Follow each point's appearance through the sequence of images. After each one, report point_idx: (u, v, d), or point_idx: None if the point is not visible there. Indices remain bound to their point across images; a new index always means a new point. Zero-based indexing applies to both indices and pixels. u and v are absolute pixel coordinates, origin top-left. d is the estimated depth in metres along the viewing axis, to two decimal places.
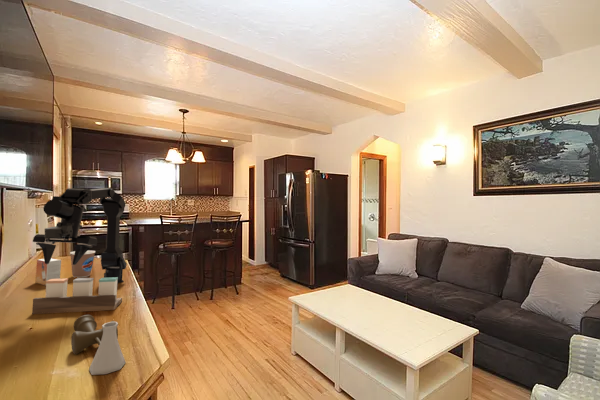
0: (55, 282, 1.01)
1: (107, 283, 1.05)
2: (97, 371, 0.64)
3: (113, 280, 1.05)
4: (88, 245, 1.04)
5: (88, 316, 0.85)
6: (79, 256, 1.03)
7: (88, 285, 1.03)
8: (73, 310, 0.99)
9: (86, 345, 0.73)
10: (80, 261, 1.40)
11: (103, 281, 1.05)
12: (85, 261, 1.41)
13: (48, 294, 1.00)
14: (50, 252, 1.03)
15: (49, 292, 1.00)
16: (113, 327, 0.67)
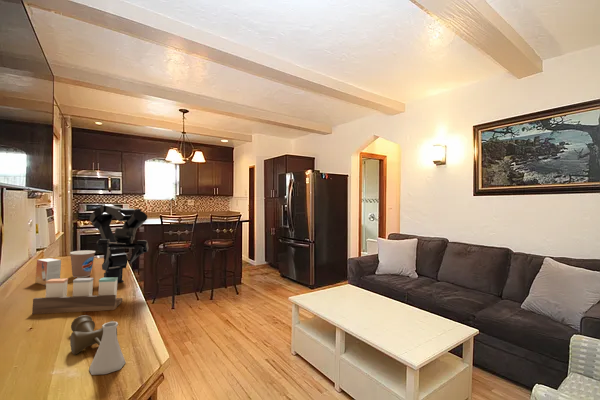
0: (55, 282, 1.01)
1: (107, 283, 1.05)
2: (97, 371, 0.64)
3: (113, 280, 1.05)
4: (143, 249, 1.24)
5: (86, 316, 0.85)
6: (134, 257, 1.21)
7: (88, 285, 1.03)
8: (73, 310, 0.99)
9: (85, 345, 0.73)
10: (80, 261, 1.40)
11: (103, 281, 1.05)
12: (85, 261, 1.41)
13: (48, 294, 1.00)
14: (108, 255, 1.19)
15: (49, 292, 1.00)
16: (113, 327, 0.67)
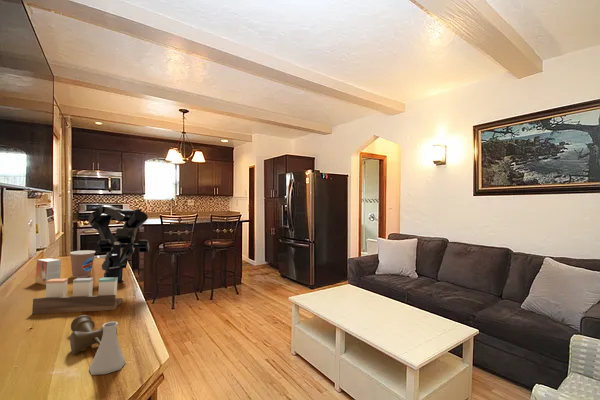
0: (55, 282, 1.01)
1: (107, 283, 1.05)
2: (97, 371, 0.64)
3: (113, 280, 1.05)
4: (133, 248, 1.23)
5: (85, 316, 0.85)
6: (124, 257, 1.20)
7: (88, 285, 1.03)
8: (73, 310, 0.99)
9: (85, 345, 0.73)
10: (80, 261, 1.40)
11: (103, 281, 1.05)
12: (85, 261, 1.41)
13: (48, 294, 1.00)
14: None
15: (49, 292, 1.00)
16: (113, 327, 0.67)
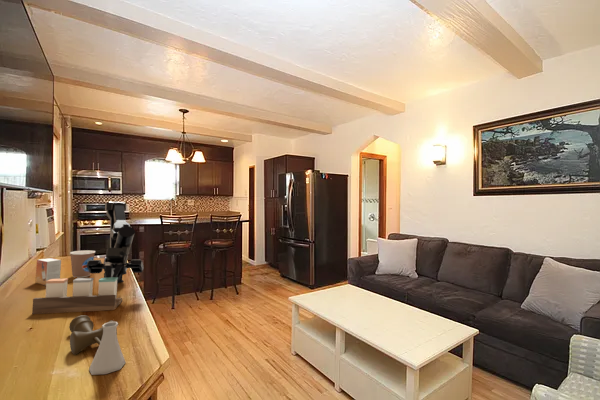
0: (55, 282, 1.01)
1: (107, 283, 1.05)
2: (97, 371, 0.64)
3: (113, 280, 1.05)
4: (125, 269, 1.14)
5: (84, 316, 0.85)
6: None
7: (88, 285, 1.03)
8: (73, 310, 0.99)
9: (85, 345, 0.73)
10: (80, 261, 1.40)
11: (103, 281, 1.04)
12: (85, 261, 1.41)
13: (48, 294, 1.00)
14: None
15: (49, 292, 1.00)
16: (113, 327, 0.67)
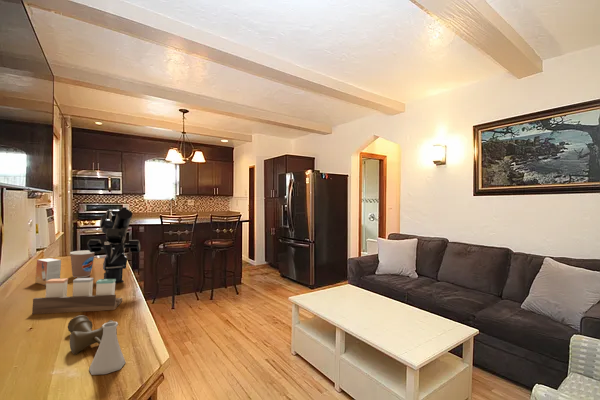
0: (55, 282, 1.01)
1: (105, 285, 1.03)
2: (97, 371, 0.64)
3: (111, 282, 1.03)
4: (123, 249, 1.23)
5: (83, 316, 0.85)
6: (115, 257, 1.19)
7: (88, 285, 1.03)
8: (73, 310, 0.99)
9: (85, 345, 0.74)
10: (80, 261, 1.40)
11: (101, 283, 1.02)
12: (85, 261, 1.41)
13: (48, 294, 1.00)
14: (111, 255, 1.20)
15: (49, 292, 1.00)
16: (113, 327, 0.67)
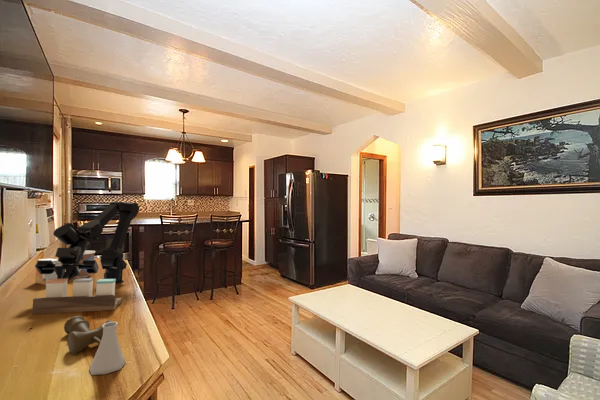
0: (55, 282, 1.00)
1: (105, 285, 1.03)
2: (97, 371, 0.64)
3: (111, 282, 1.03)
4: (77, 270, 1.09)
5: (79, 317, 0.84)
6: None
7: (88, 285, 1.03)
8: (73, 310, 0.99)
9: (84, 345, 0.74)
10: (80, 261, 1.40)
11: (101, 283, 1.02)
12: None
13: (48, 294, 1.00)
14: None
15: (49, 292, 1.00)
16: (113, 327, 0.67)
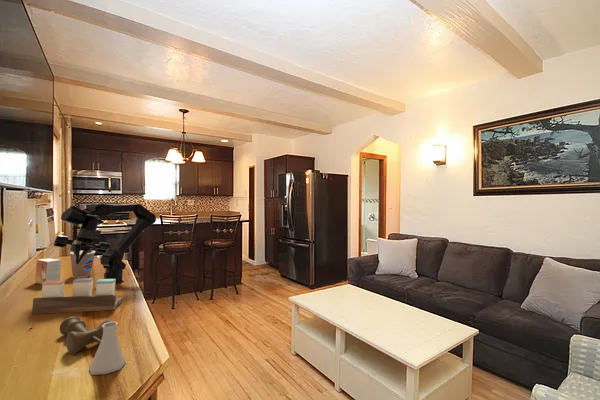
0: (51, 284, 0.98)
1: (105, 285, 1.03)
2: (97, 371, 0.64)
3: (111, 282, 1.03)
4: (92, 249, 1.22)
5: (75, 318, 0.83)
6: (82, 257, 1.18)
7: (88, 285, 1.03)
8: (73, 310, 0.99)
9: (84, 345, 0.74)
10: (80, 261, 1.40)
11: (101, 283, 1.02)
12: (85, 261, 1.41)
13: (44, 296, 0.98)
14: None
15: (45, 294, 0.98)
16: (113, 327, 0.67)
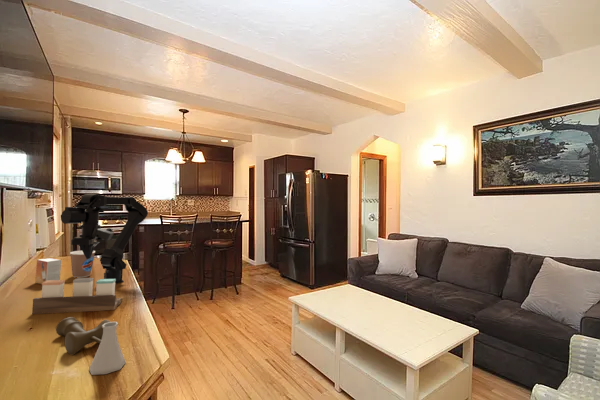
0: (51, 284, 0.98)
1: (105, 285, 1.03)
2: (97, 371, 0.64)
3: (111, 282, 1.03)
4: None
5: (71, 318, 0.83)
6: None
7: (88, 285, 1.03)
8: (73, 310, 0.99)
9: (83, 345, 0.73)
10: (80, 261, 1.40)
11: (101, 283, 1.02)
12: (85, 261, 1.41)
13: (44, 296, 0.98)
14: None
15: (45, 294, 0.98)
16: (113, 327, 0.67)
